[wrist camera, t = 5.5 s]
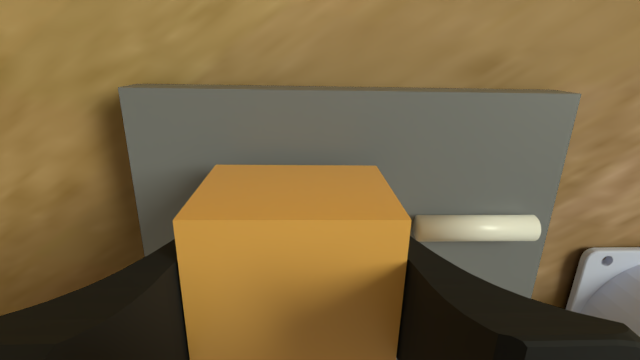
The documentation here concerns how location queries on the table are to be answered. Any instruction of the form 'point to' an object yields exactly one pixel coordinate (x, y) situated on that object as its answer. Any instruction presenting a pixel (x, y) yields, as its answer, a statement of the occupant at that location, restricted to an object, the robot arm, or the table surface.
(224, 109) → the flat gray rectangular board
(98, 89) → the table surface
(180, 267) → the light wooden brick
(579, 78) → the table surface
